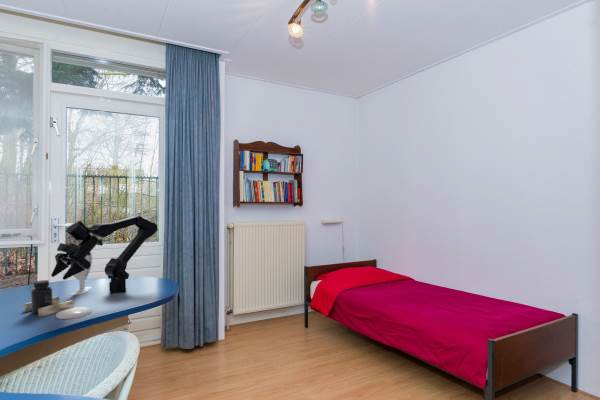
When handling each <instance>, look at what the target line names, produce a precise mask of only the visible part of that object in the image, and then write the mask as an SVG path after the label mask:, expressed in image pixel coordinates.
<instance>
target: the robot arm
mask: <svg viewBox="0 0 600 400" xmlns="http://www.w3.org/2000/svg"><path fill="white" fill-rule="evenodd" d="M131 226H135V227H136V228H138V229H137V234H136V235H135V236H134V238H133V239H132V240H131V242H129V243H128V245H127V246H126V247H125V249H124V250H123V251H122V252H121V253H120V255H118V257H116V258H114V257H111V258H110V259H109V261H108V262H107V263H106V264H105V267H104V273H105V275H106V276H107V278H108V279H110V281H109V284H108V285H109V287H108V288H109V290H108V291H109V293H110V294H112V295H113V294H123V293H127V283H126V281H127V279H129V278H130V277H129V276H130V274H129V273H128V272H127V271H126V270H127V267H128V263H129V261H130V260H131V259H132V257H134V255H135V254H136V252H137V251H138V250H139V249H140V247H141V246H142V245H143V243H144V242H145V241H146V240H148V239H150V237H153V236H154V235H155V234H156V233H157V231H158V230H159V229H158V225H157V223H156V222H152V221H150V220H148V219H146V218H144V217H142V216H140V215H132V216H129V217H126V218H122V219H119V220H115V221H113V222H112V221H111V222H102V223H101V222H100V223H95V224H93V225H92V226H91V227H87V226H86V225H85V224H84V223H83V222H82V221H81V220H78V221H76V222H75V223H73V224H71V225H69V226H68V227H67V228H66V233H67V234H68V235H69V236H71V237H72V238H73V240H75V241H77V242H78V241H80V242H79V243H78V244H75V243H72V242H70V243H67V244H66V243H62V242H60V243H59V245H58V246H57V249H56V251H57V253H56V254H55V256H54V258H55V261H56V263H55V265H54V268H53V271H52V272H51V273H50V276H51V278H52V277H53V278H54V277H56V276H58V275H59V274H60V273H62V272H64V271H65V270H67V271H66V272H65V273H64V274H63V276H62V280H67V279H69V278H72V277H74V276H73V275H75V274H77V273H79V272H82V271H85V269H87V270H88V269H89V267H90V266H91V267H92V265H91V263H90V262H89V261H88V260H86V259H85V257H86V256H87V255H89V256H90V254H92V250H94V248H96V246H103V239H102V238H107V237H108V236H111V235H112V234H114V232H116V231H119V230H122V229H125V228H129V227H131ZM98 237H99V238H98ZM100 238H101V239H100ZM70 265H71V266H70Z"/></svg>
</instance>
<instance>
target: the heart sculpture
mask: <svg viewBox="0 0 600 400" xmlns="http://www.w3.org/2000/svg"><path fill="white" fill-rule="evenodd" d="M85 259H86V260H88V261H89V262H90V263H91V266H90V267H89V269H88V270H87V269H85V271H82V272H79V273H77V274H75V275H73V276H72V277H74V278H75V279H76V280H77V281H79V284H78V285H79V288H78V289H77V290H75V291H74V292H72V293H71V295H73V296H74V295H77V296H78V295H83V294H85V293H86V292H87V291H89V290H90V289H92V288H93V286H86V280H87V279H88V277H89V275H90V272H91V269H92V266H93V265H92V264H93V253H91V254H90V256H89V255H87V256H86V257H85ZM69 267H71V265H69Z"/></svg>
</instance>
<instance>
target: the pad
mask: <svg viewBox="0 0 600 400" xmlns="http://www.w3.org/2000/svg"><path fill="white" fill-rule="evenodd" d="M92 312H93V308H92V307H89V306H77V307H73V308H70V309H66V310H63V311H60V312H56V314H55V318H57V319H59V320H70V319H77V318H82V317H85V316H87V315H90V314H91V313H92Z"/></svg>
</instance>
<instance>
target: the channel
mask: <svg viewBox="0 0 600 400" xmlns="http://www.w3.org/2000/svg"><path fill="white" fill-rule="evenodd" d="M52 300H53V305H50V306H46V307H42V308H38V314H37V316H38V317H40V318H41V317H45V316H48V315H51V314H55V313H56V314H57V313H58V312H60V311H63V310H66V309H70V308H74V300H71V299H70V300H66V301H63V302H60V296H59V295H56V296H52ZM30 311H31V312H32V305H31V301H30V302H26V303H24V312H30Z"/></svg>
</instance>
